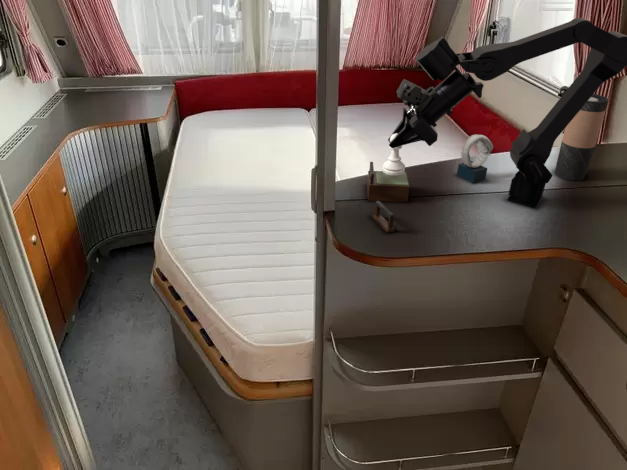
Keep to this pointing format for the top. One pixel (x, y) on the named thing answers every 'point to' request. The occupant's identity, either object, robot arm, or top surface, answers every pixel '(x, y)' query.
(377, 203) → the low rail
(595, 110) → the travel mug
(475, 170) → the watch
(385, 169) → the chess pawn
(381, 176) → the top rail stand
